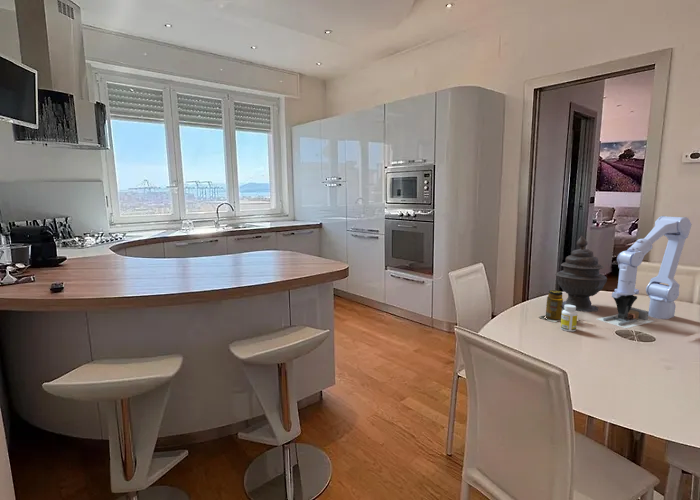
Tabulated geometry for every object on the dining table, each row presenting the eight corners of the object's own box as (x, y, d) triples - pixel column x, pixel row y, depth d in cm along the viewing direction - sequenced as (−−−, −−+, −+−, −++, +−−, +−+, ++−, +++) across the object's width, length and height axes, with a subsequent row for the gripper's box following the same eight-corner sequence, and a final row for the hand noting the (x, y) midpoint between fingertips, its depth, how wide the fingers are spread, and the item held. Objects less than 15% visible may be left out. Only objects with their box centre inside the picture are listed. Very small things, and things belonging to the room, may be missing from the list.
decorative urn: (615, 316, 164) (616, 235, 161) (564, 317, 168) (564, 238, 165) (594, 305, 184) (594, 233, 181) (549, 305, 188) (548, 235, 185)
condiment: (565, 319, 164) (567, 292, 162) (554, 322, 159) (557, 295, 157) (548, 314, 170) (551, 288, 168) (538, 317, 165) (540, 291, 163)
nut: (629, 316, 162) (630, 309, 162) (640, 319, 159) (641, 312, 158) (624, 317, 161) (624, 310, 160) (634, 320, 157) (635, 313, 157)
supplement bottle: (574, 328, 153) (576, 304, 151) (577, 332, 148) (579, 308, 146) (559, 326, 155) (561, 303, 153) (561, 331, 150) (563, 307, 148)
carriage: (623, 317, 161) (625, 302, 160) (634, 320, 157) (636, 305, 156) (614, 319, 158) (616, 304, 157) (625, 322, 154) (627, 307, 153)
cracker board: (624, 315, 167) (625, 305, 167) (655, 324, 157) (656, 312, 156) (595, 322, 159) (596, 310, 159) (625, 331, 149) (626, 319, 148)
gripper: (627, 276, 161) (623, 307, 163) (605, 280, 155) (602, 312, 157) (645, 280, 154) (642, 312, 157) (623, 284, 149) (620, 317, 151)
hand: (623, 312), depth 156 cm, fingers closed on carriage, 2 cm apart
